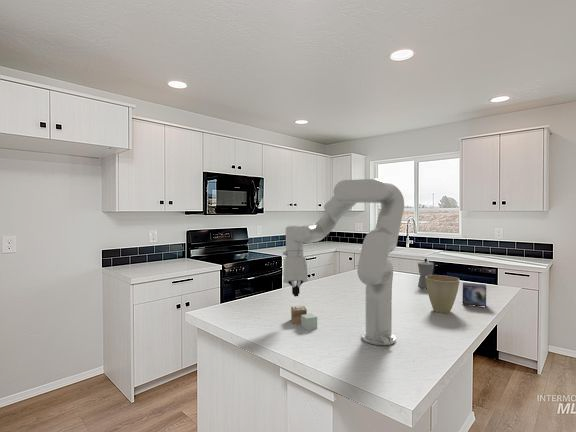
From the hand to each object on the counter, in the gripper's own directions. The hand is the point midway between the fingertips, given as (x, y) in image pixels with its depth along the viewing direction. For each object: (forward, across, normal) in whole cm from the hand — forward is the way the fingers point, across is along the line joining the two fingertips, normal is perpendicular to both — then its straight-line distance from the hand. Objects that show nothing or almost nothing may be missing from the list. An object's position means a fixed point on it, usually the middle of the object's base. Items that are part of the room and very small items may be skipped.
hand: (295, 295), depth 145 cm
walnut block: (+6, +1, 0) cm, 6 cm away
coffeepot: (+13, +93, +49) cm, 106 cm away
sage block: (+12, +4, -7) cm, 15 cm away
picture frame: (+13, +94, +9) cm, 95 cm away
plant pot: (+13, +72, +3) cm, 73 cm away
